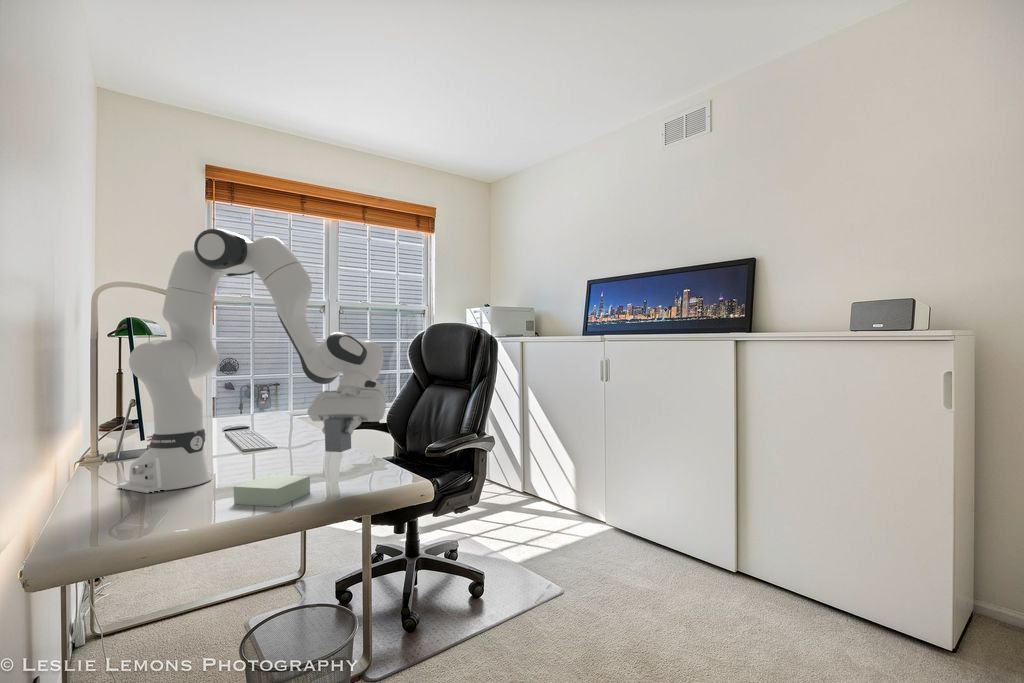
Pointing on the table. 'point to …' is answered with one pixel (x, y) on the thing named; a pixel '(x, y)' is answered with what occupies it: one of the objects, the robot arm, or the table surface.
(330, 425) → the block
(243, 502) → the stand
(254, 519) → the table surface
